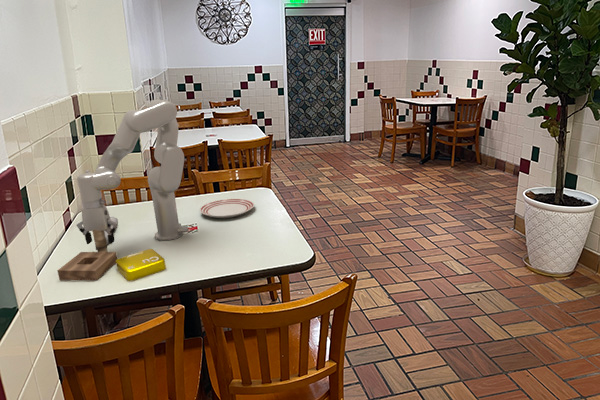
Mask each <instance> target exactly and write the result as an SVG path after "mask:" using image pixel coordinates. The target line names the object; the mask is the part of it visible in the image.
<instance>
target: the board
mask: <svg viewBox="0 0 600 400" xmlns="http://www.w3.org/2000/svg"><path fill="white" fill-rule="evenodd" d="M117 259H118V255H117V251H108V252H98V251H81V252H79V253H78V254H77V255H75V256H74V257H72V258H71V259H69V261H68V262H65V264H64V265H62V266H61V267H59V268H58V269H57V275H58V279H59V280H60V281H99V280H100V278H102V277H103V276H104V275H106V274H107V272H108V271H110V269H111V268H113V266H115V265H116V260H117Z"/></svg>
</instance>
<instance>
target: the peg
mask: <svg viewBox="0 0 600 400" xmlns="http://www.w3.org/2000/svg"><path fill="white" fill-rule="evenodd" d="M91 232H92V236H93V241H94V245H95V250H96V252H109V251H108V244H107V242H106V237H105V232H104V231H97V230H93V231H91Z"/></svg>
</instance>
